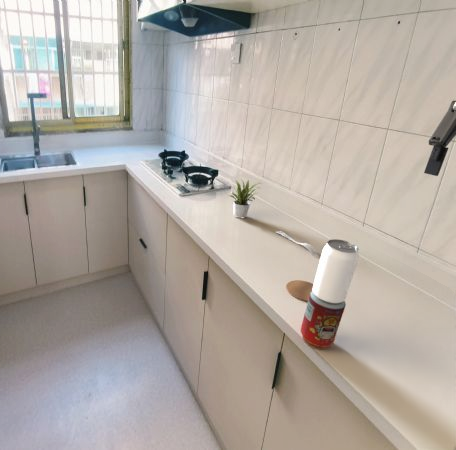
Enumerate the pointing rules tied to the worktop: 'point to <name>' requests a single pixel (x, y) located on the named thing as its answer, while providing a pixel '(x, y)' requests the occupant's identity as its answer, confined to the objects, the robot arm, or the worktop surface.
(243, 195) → the house plant
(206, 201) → the worktop surface
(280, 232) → the fork
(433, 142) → the robot arm
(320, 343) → the soda can
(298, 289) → the cork coaster
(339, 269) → the can
